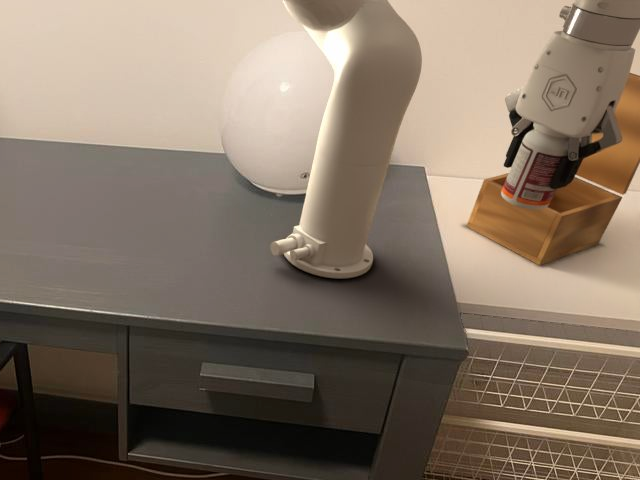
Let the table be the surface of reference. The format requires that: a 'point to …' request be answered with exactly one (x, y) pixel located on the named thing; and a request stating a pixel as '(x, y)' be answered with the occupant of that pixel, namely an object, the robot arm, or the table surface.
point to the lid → (618, 145)
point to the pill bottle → (535, 168)
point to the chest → (544, 220)
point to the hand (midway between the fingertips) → (535, 174)
